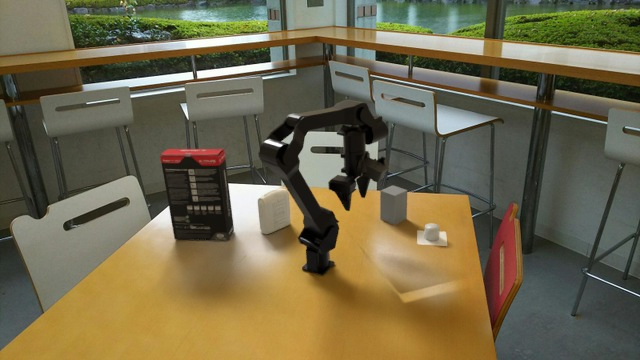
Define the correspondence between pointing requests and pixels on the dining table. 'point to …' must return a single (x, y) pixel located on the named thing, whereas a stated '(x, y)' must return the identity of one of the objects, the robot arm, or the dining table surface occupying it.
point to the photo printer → (274, 210)
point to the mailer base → (424, 242)
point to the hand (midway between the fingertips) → (355, 203)
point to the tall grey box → (393, 205)
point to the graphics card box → (198, 194)
